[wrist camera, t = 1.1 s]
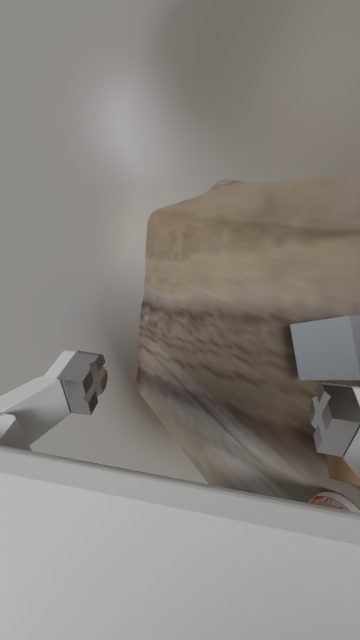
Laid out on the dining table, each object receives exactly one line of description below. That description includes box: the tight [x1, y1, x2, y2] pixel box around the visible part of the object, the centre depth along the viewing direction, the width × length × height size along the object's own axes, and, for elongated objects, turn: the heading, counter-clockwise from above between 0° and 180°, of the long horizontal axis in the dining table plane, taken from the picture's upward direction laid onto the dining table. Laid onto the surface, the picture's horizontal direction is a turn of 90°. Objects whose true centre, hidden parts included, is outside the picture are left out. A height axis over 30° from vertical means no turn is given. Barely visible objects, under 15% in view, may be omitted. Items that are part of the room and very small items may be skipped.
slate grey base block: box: [290, 315, 360, 380], centre depth 46 cm, size 9×9×5 cm
